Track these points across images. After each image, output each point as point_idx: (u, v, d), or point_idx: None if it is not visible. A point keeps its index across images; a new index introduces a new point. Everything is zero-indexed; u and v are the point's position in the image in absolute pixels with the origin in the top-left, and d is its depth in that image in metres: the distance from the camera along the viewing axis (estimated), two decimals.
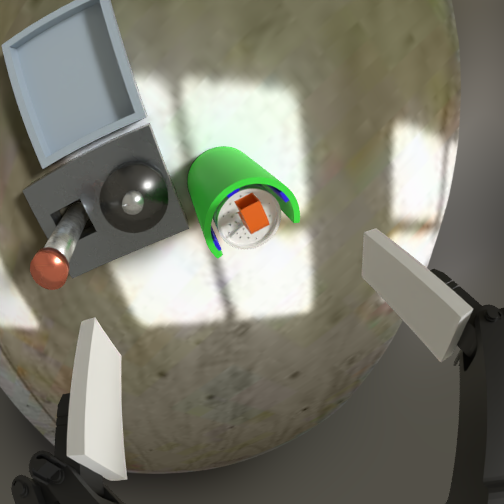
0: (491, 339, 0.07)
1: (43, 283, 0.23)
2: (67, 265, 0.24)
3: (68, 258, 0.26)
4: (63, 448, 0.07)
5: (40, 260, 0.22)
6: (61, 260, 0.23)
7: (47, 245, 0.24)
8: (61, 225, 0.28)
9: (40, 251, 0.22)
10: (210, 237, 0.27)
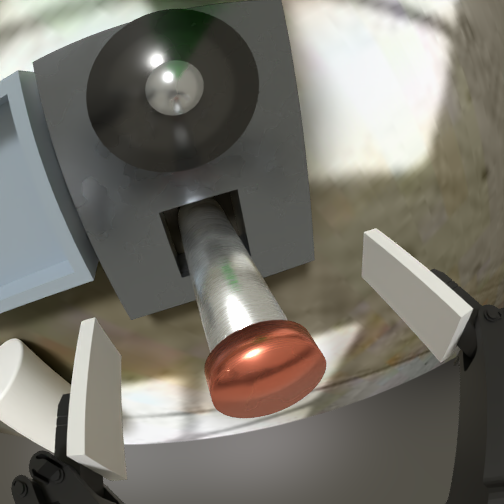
0: (491, 339, 0.07)
1: (296, 395, 0.10)
2: (274, 328, 0.09)
3: (259, 302, 0.11)
4: (63, 448, 0.07)
5: (231, 400, 0.09)
6: (249, 351, 0.08)
7: (209, 347, 0.11)
8: (191, 275, 0.14)
9: (209, 390, 0.09)
10: None
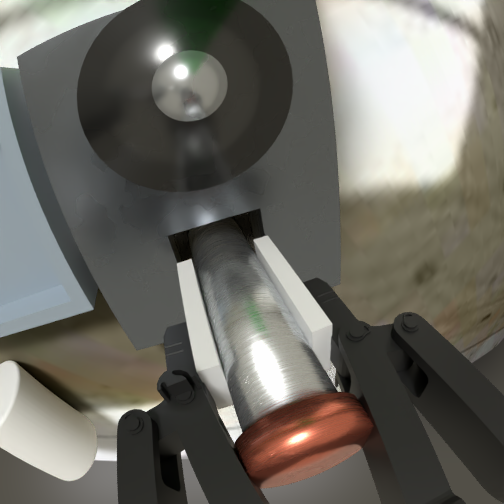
0: (363, 362, 0.08)
1: (337, 461, 0.08)
2: (324, 407, 0.06)
3: (300, 365, 0.08)
4: None
5: (267, 479, 0.07)
6: (295, 439, 0.06)
7: (236, 413, 0.09)
8: (209, 316, 0.12)
9: None
10: None
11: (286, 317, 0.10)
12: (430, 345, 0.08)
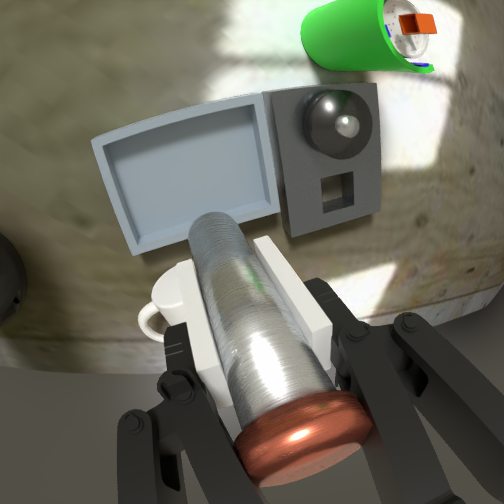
0: (363, 362, 0.08)
1: (336, 460, 0.08)
2: (323, 406, 0.07)
3: (299, 364, 0.08)
4: None
5: (266, 477, 0.07)
6: (294, 438, 0.06)
7: (236, 411, 0.09)
8: (208, 315, 0.12)
9: None
10: (418, 67, 0.19)
11: (285, 316, 0.10)
12: (430, 345, 0.08)
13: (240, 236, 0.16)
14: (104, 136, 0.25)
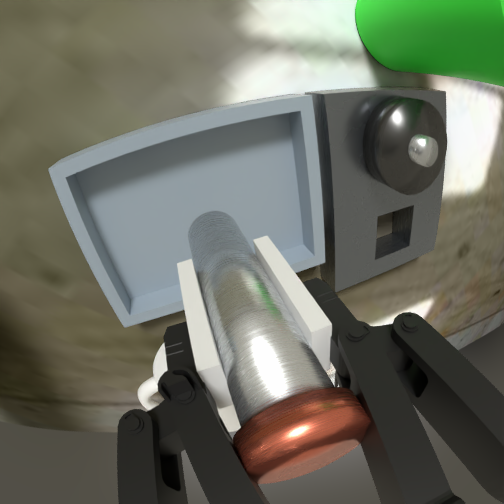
0: (363, 362, 0.08)
1: (334, 457, 0.08)
2: (321, 401, 0.07)
3: (298, 361, 0.08)
4: None
5: (265, 473, 0.07)
6: (293, 433, 0.06)
7: (235, 408, 0.09)
8: (208, 313, 0.12)
9: None
10: None
11: (284, 314, 0.10)
12: (430, 345, 0.08)
13: (239, 235, 0.16)
14: (68, 162, 0.15)
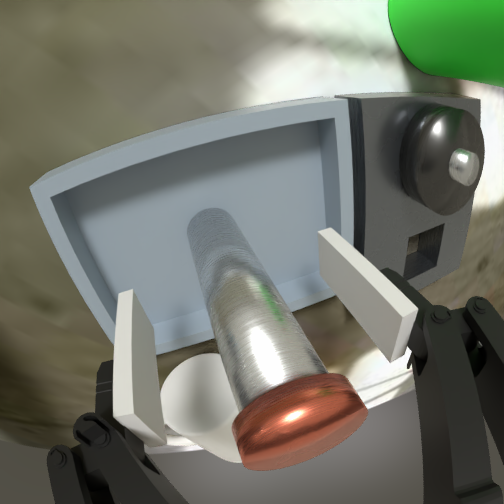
0: (442, 342, 0.08)
1: (331, 444, 0.08)
2: (316, 387, 0.07)
3: (294, 349, 0.09)
4: (105, 413, 0.08)
5: (263, 459, 0.07)
6: (289, 417, 0.06)
7: (233, 396, 0.09)
8: (207, 306, 0.12)
9: (238, 450, 0.07)
10: None
11: (281, 305, 0.11)
12: (494, 327, 0.07)
13: (237, 231, 0.16)
14: (52, 179, 0.12)
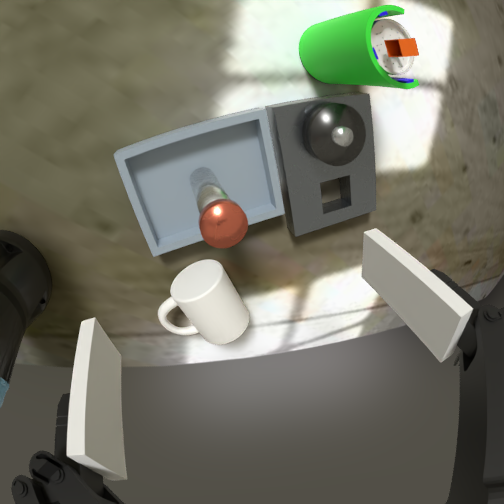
0: (491, 339, 0.07)
1: (237, 236, 0.25)
2: (224, 200, 0.24)
3: (222, 198, 0.26)
4: (63, 448, 0.07)
5: (208, 231, 0.24)
6: (213, 206, 0.24)
7: None
8: (195, 198, 0.30)
9: None
10: (403, 84, 0.23)
11: (222, 191, 0.28)
12: None
13: (212, 174, 0.33)
14: (126, 151, 0.30)
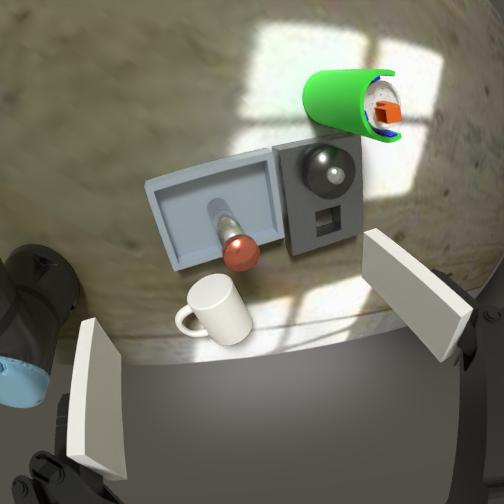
0: (491, 339, 0.07)
1: (251, 263, 0.33)
2: (242, 235, 0.32)
3: (239, 232, 0.34)
4: (63, 448, 0.07)
5: (229, 259, 0.32)
6: (234, 240, 0.32)
7: None
8: (215, 228, 0.38)
9: (223, 256, 0.32)
10: (388, 138, 0.31)
11: (238, 224, 0.36)
12: None
13: (227, 206, 0.41)
14: (155, 184, 0.37)
